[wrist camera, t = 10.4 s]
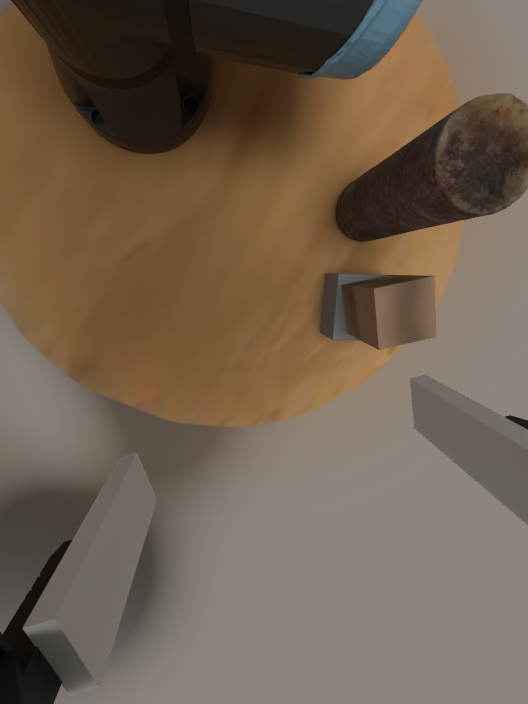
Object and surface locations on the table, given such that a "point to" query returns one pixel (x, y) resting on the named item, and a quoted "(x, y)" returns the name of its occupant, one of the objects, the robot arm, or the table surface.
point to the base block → (338, 304)
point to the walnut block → (390, 309)
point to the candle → (444, 172)
